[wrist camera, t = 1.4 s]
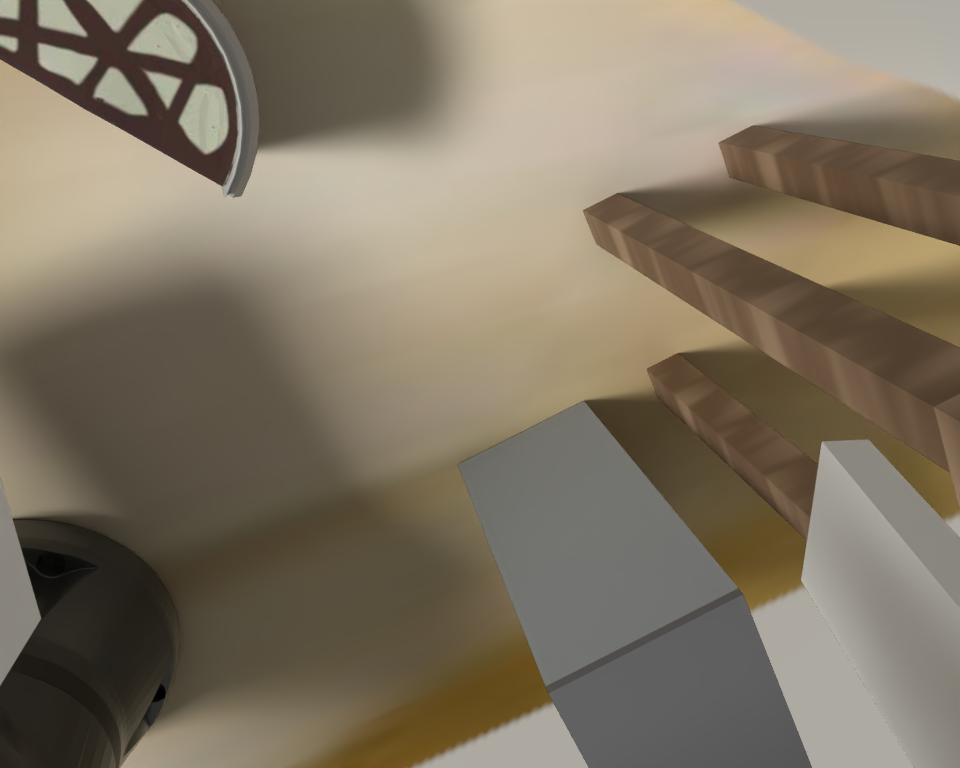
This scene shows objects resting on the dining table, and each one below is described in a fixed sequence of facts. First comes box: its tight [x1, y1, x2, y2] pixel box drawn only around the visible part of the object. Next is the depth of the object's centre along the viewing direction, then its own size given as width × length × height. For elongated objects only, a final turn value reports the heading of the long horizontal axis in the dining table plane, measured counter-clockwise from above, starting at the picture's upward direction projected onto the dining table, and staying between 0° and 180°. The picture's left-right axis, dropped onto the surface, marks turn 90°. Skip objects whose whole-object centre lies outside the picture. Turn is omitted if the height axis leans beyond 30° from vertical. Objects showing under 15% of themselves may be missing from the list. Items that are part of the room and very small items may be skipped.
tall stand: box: [583, 126, 960, 540], centre depth 36 cm, size 10×12×30 cm
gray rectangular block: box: [458, 401, 812, 768], centre depth 44 cm, size 8×10×20 cm
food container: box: [0, 0, 259, 198], centre depth 36 cm, size 12×6×10 cm, turn 57°
